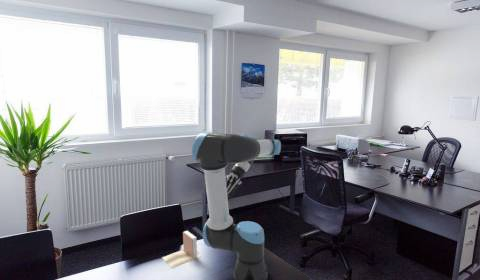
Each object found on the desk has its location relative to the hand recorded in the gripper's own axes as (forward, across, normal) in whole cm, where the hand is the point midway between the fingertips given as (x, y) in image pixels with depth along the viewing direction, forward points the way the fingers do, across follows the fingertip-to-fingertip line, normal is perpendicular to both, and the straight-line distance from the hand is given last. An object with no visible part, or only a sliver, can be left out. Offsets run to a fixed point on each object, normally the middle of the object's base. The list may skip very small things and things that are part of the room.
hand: (215, 205), depth 154 cm
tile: (+26, 0, -4) cm, 26 cm away
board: (+30, 0, -1) cm, 30 cm away
